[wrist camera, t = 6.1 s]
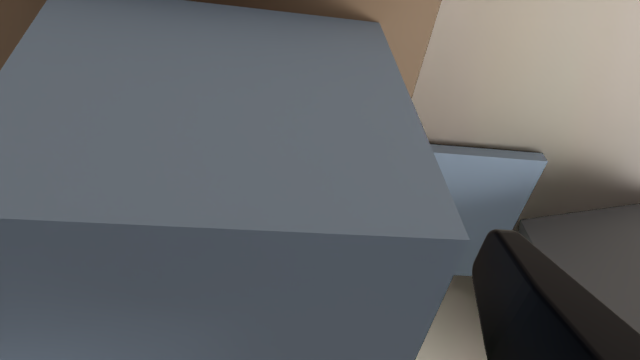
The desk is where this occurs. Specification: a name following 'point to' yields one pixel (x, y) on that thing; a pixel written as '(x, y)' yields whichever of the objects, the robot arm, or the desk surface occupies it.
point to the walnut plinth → (348, 3)
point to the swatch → (487, 190)
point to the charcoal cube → (596, 253)
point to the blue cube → (215, 189)
